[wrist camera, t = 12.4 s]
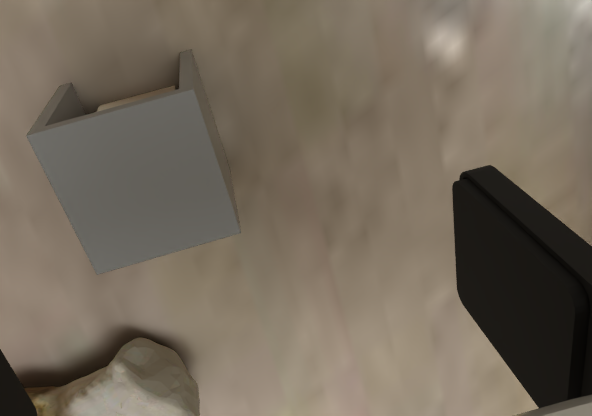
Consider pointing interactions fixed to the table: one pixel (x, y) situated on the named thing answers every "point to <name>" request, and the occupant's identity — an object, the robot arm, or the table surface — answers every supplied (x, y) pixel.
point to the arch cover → (138, 172)
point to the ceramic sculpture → (126, 387)
